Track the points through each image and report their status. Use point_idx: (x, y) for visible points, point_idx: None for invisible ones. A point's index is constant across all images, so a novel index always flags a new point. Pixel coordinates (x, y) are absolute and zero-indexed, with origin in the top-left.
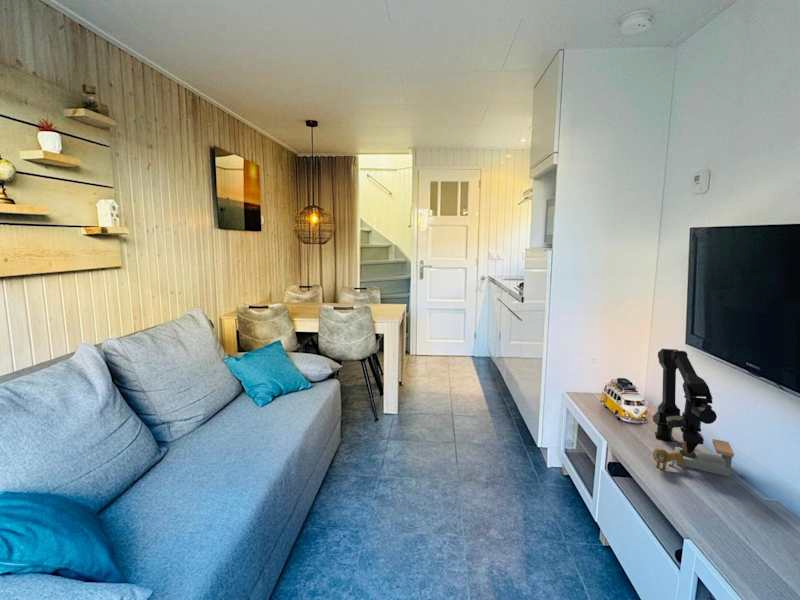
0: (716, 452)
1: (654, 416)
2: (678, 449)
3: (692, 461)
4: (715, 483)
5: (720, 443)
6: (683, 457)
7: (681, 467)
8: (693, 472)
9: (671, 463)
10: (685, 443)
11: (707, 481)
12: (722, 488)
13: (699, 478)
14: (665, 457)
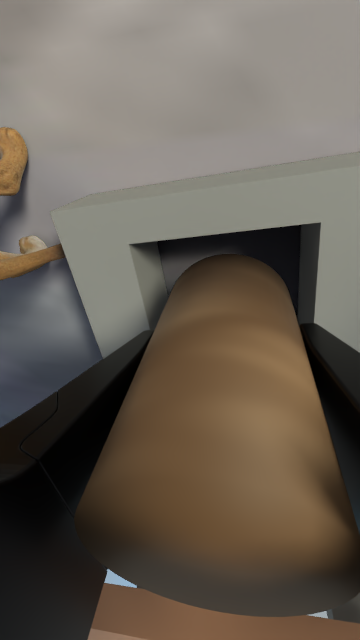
0: (107, 585)
1: None
2: (321, 213)
3: (101, 340)
4: (25, 402)
5: None
6: (97, 275)
7: (21, 245)
8: (58, 315)
9: (5, 155)
10: (135, 382)
11: (10, 374)
12: (3, 419)
13: (6, 342)
14: None
